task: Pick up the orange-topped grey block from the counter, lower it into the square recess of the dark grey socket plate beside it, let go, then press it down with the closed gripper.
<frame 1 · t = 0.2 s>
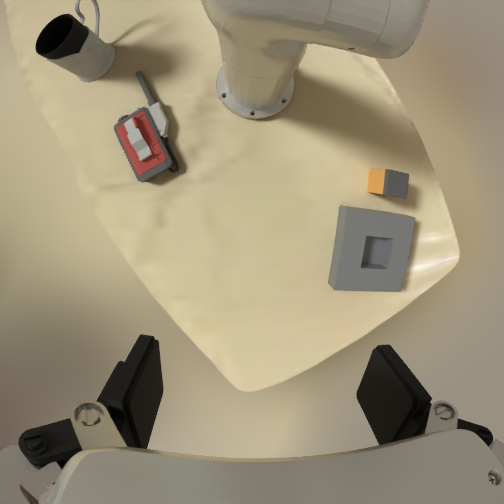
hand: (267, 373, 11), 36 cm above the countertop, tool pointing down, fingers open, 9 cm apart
walkie-talkie: (144, 127, 41), on the countertop
socket plate: (369, 248, 48), on the countertop
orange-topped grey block: (377, 182, 45), on the countertop
grey and black mug: (100, 50, 36), on the countertop
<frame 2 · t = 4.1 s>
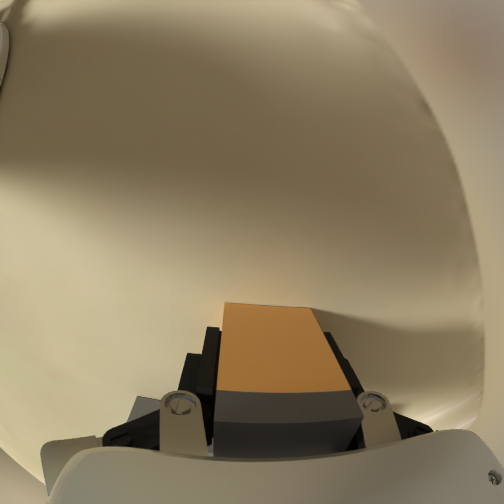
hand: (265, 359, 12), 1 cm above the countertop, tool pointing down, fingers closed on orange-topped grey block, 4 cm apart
socket plate: (244, 464, 16), on the countertop
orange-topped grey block: (263, 341, 13), on the countertop, touching gripper
when the fingers open (4 cm above the countertop, at t = 8.3 s): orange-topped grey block drops 2 cm, resting on socket plate.
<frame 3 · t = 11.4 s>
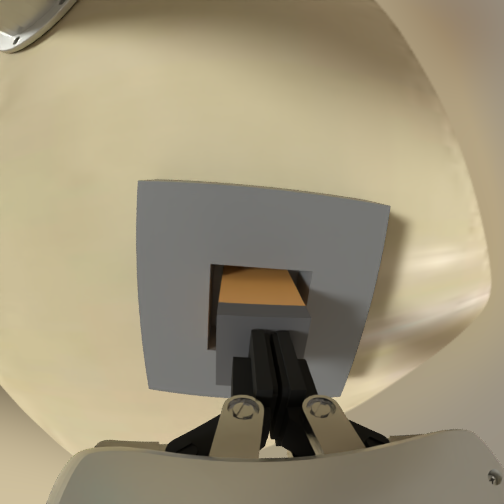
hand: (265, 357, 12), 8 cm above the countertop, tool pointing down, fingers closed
socket plate: (254, 290, 19), on the countertop
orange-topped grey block: (252, 293, 19), resting on socket plate, touching gripper
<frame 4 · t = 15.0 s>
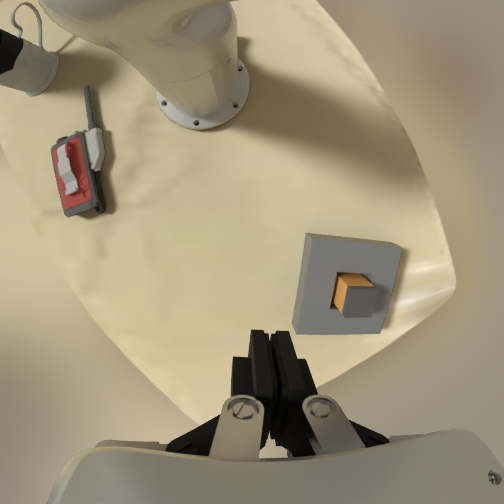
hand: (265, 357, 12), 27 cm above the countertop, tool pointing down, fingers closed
walkie-talkie: (82, 152, 34), on the countertop
socket plate: (343, 282, 41), on the countertop
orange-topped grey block: (343, 284, 40), resting on socket plate
grey and black mug: (46, 60, 28), on the countertop
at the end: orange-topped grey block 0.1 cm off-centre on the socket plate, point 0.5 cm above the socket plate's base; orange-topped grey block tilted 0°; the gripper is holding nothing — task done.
